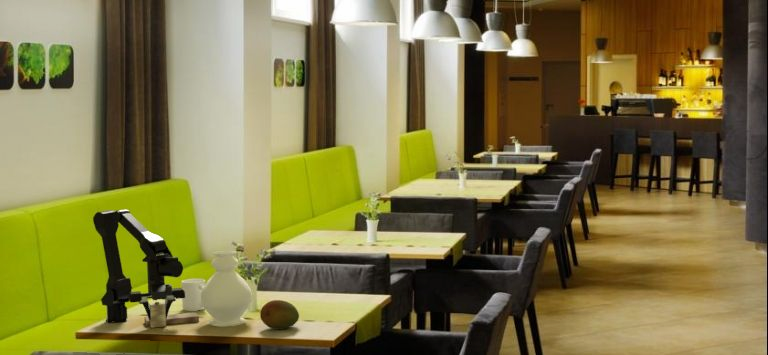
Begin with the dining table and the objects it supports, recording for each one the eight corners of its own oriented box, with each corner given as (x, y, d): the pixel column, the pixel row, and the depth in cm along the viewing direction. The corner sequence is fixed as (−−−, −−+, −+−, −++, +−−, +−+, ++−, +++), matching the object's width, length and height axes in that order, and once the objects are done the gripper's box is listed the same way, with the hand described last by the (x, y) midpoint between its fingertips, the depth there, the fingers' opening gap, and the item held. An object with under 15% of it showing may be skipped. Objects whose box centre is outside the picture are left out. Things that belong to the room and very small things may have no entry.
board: (147, 326, 387) (146, 320, 387) (144, 322, 393) (144, 316, 393) (198, 321, 393) (198, 316, 392) (195, 317, 399) (195, 312, 399)
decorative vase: (232, 330, 378) (229, 257, 376) (191, 325, 387) (188, 254, 385) (262, 319, 394) (260, 249, 391) (222, 315, 402) (220, 246, 400)
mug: (198, 313, 407) (197, 284, 406) (177, 309, 415) (176, 281, 414) (216, 309, 413) (215, 281, 412) (196, 305, 421) (195, 277, 420)
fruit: (255, 329, 378) (254, 300, 377) (281, 323, 388) (280, 294, 387) (279, 334, 371) (278, 304, 370) (305, 327, 380) (304, 298, 379)
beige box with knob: (151, 327, 384) (150, 303, 383) (147, 322, 393) (146, 298, 392) (165, 326, 386) (164, 302, 385) (162, 320, 395) (161, 297, 394)
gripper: (131, 281, 374) (133, 326, 375) (186, 276, 380) (188, 321, 381) (127, 275, 384) (129, 320, 386) (181, 271, 390) (183, 315, 392)
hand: (157, 319), depth 386 cm, fingers closed on beige box with knob, 5 cm apart
